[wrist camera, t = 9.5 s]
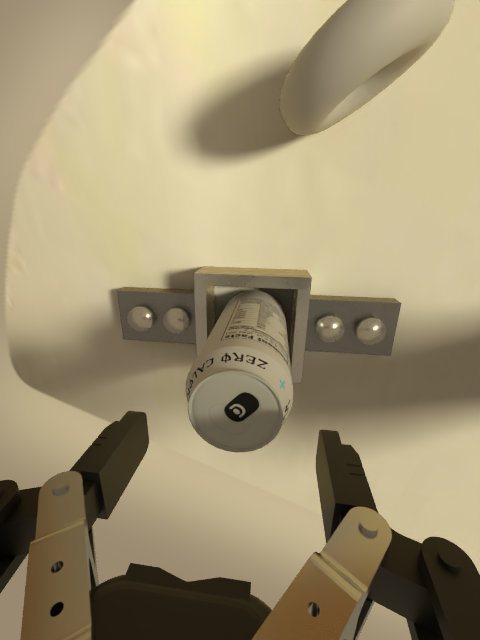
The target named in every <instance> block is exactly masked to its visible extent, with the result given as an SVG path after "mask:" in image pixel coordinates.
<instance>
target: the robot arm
mask: <svg viewBox="0 0 480 640" xmlns="http://www.w3.org/2000/svg"><path fill="white" fill-rule="evenodd" d="M148 444H149V436H148V426H147V417H146V414H145V413H144V412H135V411H128V412H127V413H126V414H125V415H124V417H123V418H122V419H121V420H120V421H115V422H113V423H112V424H110V425H109V426H108V427H106V428H105V429H104V430H103V431H102V432H101V434H100V435H99V436H98V438H97V439H96V440H95V441H94V442H93V443H92V445H91V446H90V447H89V448H88V449H87V450H86V452H85V453H84V454H83V455H82V456H81V458H80V459H79V460H78V461H77V462H76V464H75V465H74V466H73V467H72V468H71V469H70V471H67V472H62V473H59V474H57V475H55V476H54V477H52V478H50V479H49V480H48V481H47V482H46V483H45V484H44V485H43V486H42V487H36V488H30V489H24V490H19V488H18V485H17V483H16V482H15V481H12V480H3V481H0V593H1V592H2V590H3V589H4V587H5V586H6V584H7V583H8V582H9V580H10V579H11V577H12V576H13V574H14V573H15V572H16V570H17V569H18V567H19V566H20V564H21V563H22V561H23V560H24V559H25V557H26V556H27V554H28V553H29V556H28V567H27V576H26V586H25V597H24V608H23V618H22V630H21V639H20V640H357V639H358V637H359V635H360V633H361V630H362V628H363V626H364V624H365V622H366V620H367V617H368V615H369V613H370V611H371V608H372V606H373V604H374V602H376V603H378V604H380V605H382V606H384V607H386V608H388V609H390V610H392V611H394V612H395V613H397V614H399V615H401V616H403V617H405V618H406V619H407V622H408V627H409V630H410V634H411V637H412V640H480V575H479V573H478V571H477V569H476V567H475V565H474V563H473V562H472V560H471V559H470V557H469V556H468V555H467V554H466V553H465V552H464V551H463V550H462V549H461V548H459V547H458V546H457V545H455V544H454V543H452V542H450V541H448V540H446V539H444V538H440V537H429V538H427V539H425V540H424V541H423V543H419V542H417V541H414V540H412V539H410V538H407V537H405V536H403V535H401V534H399V533H397V532H395V531H394V530H393V529H391V528H390V526H389V524H388V523H387V521H386V520H385V519H384V518H383V517H382V516H381V515H380V514H379V513H378V511H377V508H376V505H375V502H374V499H373V496H372V493H371V490H370V487H369V484H368V481H367V478H366V477H365V472H364V469H363V468H362V463H361V460H360V457H359V455H358V453H357V452H356V451H355V450H354V449H353V447H352V446H351V445H345V444H341V441H340V437H339V434H338V432H337V431H329V430H320V431H319V438H318V446H317V454H316V474H317V481H318V488H319V495H320V502H321V509H322V516H323V523H324V530H325V537H326V545H325V547H324V548H323V550H322V551H321V552H320V553H317V552H314V553H313V554H312V555H311V556H310V558H309V559H308V560H307V562H306V563H305V565H304V566H303V567H302V569H301V570H300V572H299V573H298V574H297V576H296V577H295V579H294V580H293V582H292V583H291V584H290V586H289V587H288V589H287V590H286V592H285V593H284V594H283V596H282V597H281V599H280V600H279V601H278V603H277V604H276V606H275V607H274V609H273V610H271V608H270V607H268V606H267V605H266V604H265V603H264V602H263V601H261V600H260V599H259V598H257V597H255V596H253V595H251V594H250V590H251V582H246V581H240V580H234V579H227V578H221V577H219V578H212V579H205V580H198V581H191V582H186V581H184V580H182V579H180V578H178V577H176V576H174V575H172V574H170V573H168V572H166V571H164V570H163V569H161V568H158V567H152V566H146V565H139V564H133V563H131V564H130V566H129V568H128V570H127V572H126V575H121V576H118V577H115V578H112V579H110V580H107V581H105V582H104V583H101V584H100V585H99V580H98V574H97V564H96V554H95V544H94V534H93V527H92V525H93V524H94V522H95V521H96V519H97V518H101V519H108V518H109V516H110V514H111V513H112V511H113V509H114V507H115V506H116V504H117V502H118V501H119V499H120V497H121V495H122V493H123V492H124V490H125V488H126V487H127V485H128V483H129V481H130V480H131V478H132V476H133V474H134V473H135V471H136V469H137V467H138V466H139V464H140V462H141V461H142V459H143V457H144V455H145V453H146V451H147V448H148Z"/></svg>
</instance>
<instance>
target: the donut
mask: <svg viewBox="0 0 480 640" xmlns="http://www.w3.org/2000/svg"><path fill="white" fill-rule="evenodd" d="M454 2H455V0H348V1H347V2H345V3H344V4H343V5H342V6H341V7H340V8H339V9H338V10H337V11H336V12H335V13H334V14H333V15H332V16H331V17H330V18H329V19H328V20H327V21H326V22H325V23H324V24H323V25H322V26H321V28H320V29H319V30H318V31H317V32H316V33H315V34H314V35H313V37H312V38H311V39H310V41H309V42H308V43H307V44H306V46H305V47H304V48H303V50H302V51H301V52H300V54H299V55H298V57H297V59H296V60H295V62H294V64H293V65H292V67H291V69H290V71H289V72H288V74H287V76H286V77H285V80H284V84H283V87H282V91H281V95H280V99H279V102H280V112H281V115H282V118H283V120H284V122H285V123H286V125H287V126H288V128H289V129H290V130H291V131H293V132H294V133H296V134H300V135H310V134H315V133H318V132H321V131H323V130H325V129H327V128H329V127H331V126H332V125H334V124H336V123H338V122H339V121H341V120H342V119H344V118H345V117H347V116H348V115H350V114H351V113H353V112H354V111H356V110H357V109H359V108H360V107H361V106H363V105H364V104H366V103H367V102H368V101H370V100H371V99H372V98H374V97H375V96H376V95H378V94H379V93H380V92H381V91H383V90H384V89H385V88H386V87H388V86H389V85H390V84H391V83H392V82H394V81H395V80H396V79H397V78H398V77H400V76H401V75H402V74H403V73H404V72H405V71H406V70H408V69H409V68H410V67H411V66H412V65H413V64H414V63H415V62H416V61H417V60H419V59H420V58H421V57H422V56H423V54H424V53H425V52H426V51H427V50H428V49H429V48H430V47H431V46H432V45H433V44H434V42H435V41H436V40H437V38H438V37H439V36H440V34H441V33H442V31H443V30H444V28H445V27H446V25H447V24H448V22H449V19H450V17H451V14H452V12H453V9H454Z"/></svg>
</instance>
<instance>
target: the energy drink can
mask: <svg viewBox="0 0 480 640" xmlns="http://www.w3.org/2000/svg"><path fill="white" fill-rule="evenodd" d="M186 396H187V401H188V414H189V419H190V421H191V424H192V426H193V428H194V429H195V430H196V432H197V433H198V434H199V435H200V436H201V437H202V438H203V439H204V440H205V441H206V442H208V443H209V444H211V445H213V446H215V447H217V448H219V449H222V450H226V451H231V452H248V451H254V450H256V449H259V448H262V447H263V446H265V445H267V444H268V443H269V442H271V441H272V440H273V439H274V438H275V436H276V435H277V434H278V432H279V430H280V428H281V425H282V423H283V422H284V421H285V419H286V418H287V416H288V415H289V413H290V410H291V408H292V404H293V398H294V396H293V384H292V375H291V365H290V356H289V346H288V337H287V328H286V318H285V313H284V310H283V308H282V306H281V304H280V303H279V302H278V301H277V300H276V299H275V298H274V297H273V296H271V295H269V294H267V293H265V292H262V291H256V290H250V291H245V292H241V293H239V294H237V295H235V296H234V297H233V298H232V299H230V301H229V302H228V303H227V305H226V306H225V308H224V310H223V312H222V314H221V315H220V317H219V319H218V321H217V323H216V324H215V326H214V328H213V330H212V332H211V334H210V335H209V337H208V339H207V341H206V343H205V344H204V346H203V348H202V350H201V352H200V353H199V355H198V357H197V359H196V361H195V362H194V364H193V366H192V368H191V370H190V372H189V374H188V377H187V381H186Z"/></svg>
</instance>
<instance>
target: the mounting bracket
mask: <svg viewBox="0 0 480 640" xmlns="http://www.w3.org/2000/svg"><path fill="white" fill-rule="evenodd" d="M311 279H312V277H311V276H310V274H309V272H308V271H307V270H288V269H259V268H230V267H202V268H201V269H199V270H198V271H196V272H195V273H194V290H182V289H158V288H135V287H124V288H122V289H120V290H118V299H119V308H120V316H121V324H122V332H123V339H126V340H142V341H159V342H175V343H191V344H196V349H197V357H198V355H199V353H200V352H201V350H202V348H203V346H204V344H205V343H206V341H207V339H208V337H209V335H210V334H211V332H212V330H213V328H214V326H215V314H214V286H230V287H254V288H278V289H294V301H293V314H292V327H291V339H290V352H289V356H290V365H291V375H292V382H297V383H301V382H302V372H303V361H304V351H321V352H337V353H354V354H370V355H386V356H390V355H391V350H392V345H393V341H394V336H395V331H396V326H397V321H398V316H399V311H400V306H401V303H400V302H399V301H397V300H396V299H391V298H368V297H345V296H321V295H310V290H311Z"/></svg>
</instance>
